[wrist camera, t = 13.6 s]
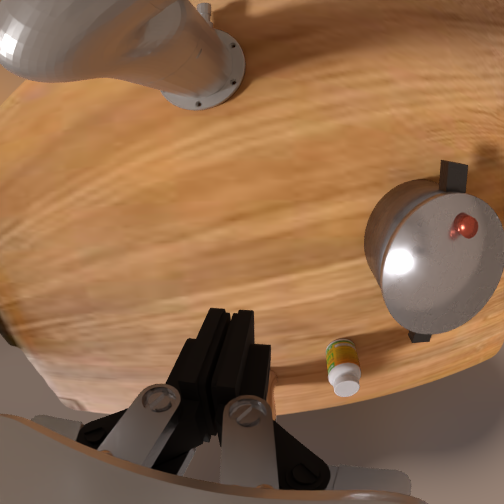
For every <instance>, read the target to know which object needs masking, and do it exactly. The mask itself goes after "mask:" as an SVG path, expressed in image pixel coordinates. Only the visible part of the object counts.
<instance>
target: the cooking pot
mask: <svg viewBox="0 0 504 504" xmlns="http://www.w3.org/2000/svg"><path fill="white" fill-rule="evenodd" d="M467 172H468V165H465V164H461V163H457V162H451V161H445V160H441V168H440V180H439V184H438V183H436V182H433V181H428V180H412V181H408V182H405V183H403V184H400V185H398V186H396V187H395V188H393V189H392V190H390V191H389V192H388V193H387V194H385V195H384V197H383V198H382V199H381V200H380V201H379V202H378V204H377V205H376V206H375V208H374V210H373V211H372V213H371V215H370V218H369V220H368V223H367V226H366V230H365V236H364V249H365V255H366V259H367V262H368V265H369V267H370V269H371V271H372V273H373V275H374V277H375V278H376V280H377V282H378V284H379V286H380V288H381V285H380V271H381V263H382V259H383V255H384V252H385V249H386V246H387V244H388V242H389V240H390V237H391V235H392V234H393V232H394V231H395V229H396V227H397V226H398V225H399V223H400V222H401V221H402V219H403V218H404V217H405V216H406V215H407V214H408V213H409V212H410V211H411V210H412V209H413V208H414V207H416V206H417V205H418V204H420V203H421V202H423V201H424V200H426V199H428V198H430V197H432V196H434V195H437V194H441V193H444V192H463V193H465V192H466V182H467ZM408 335H409V338H410V340H411V342H412V343H417V342H429V341H430V338H431V335H432V334H420V333H416V332H412V331H410V330H409V333H408Z"/></svg>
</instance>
